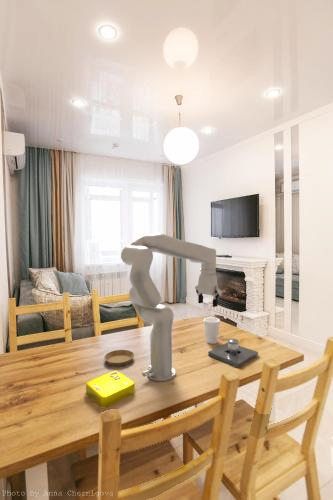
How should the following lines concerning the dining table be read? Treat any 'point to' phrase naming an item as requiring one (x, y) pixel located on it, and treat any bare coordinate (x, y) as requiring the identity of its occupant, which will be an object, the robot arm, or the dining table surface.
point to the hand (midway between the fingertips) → (207, 304)
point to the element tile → (110, 388)
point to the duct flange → (237, 360)
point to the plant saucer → (119, 357)
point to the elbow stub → (233, 346)
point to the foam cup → (211, 329)
